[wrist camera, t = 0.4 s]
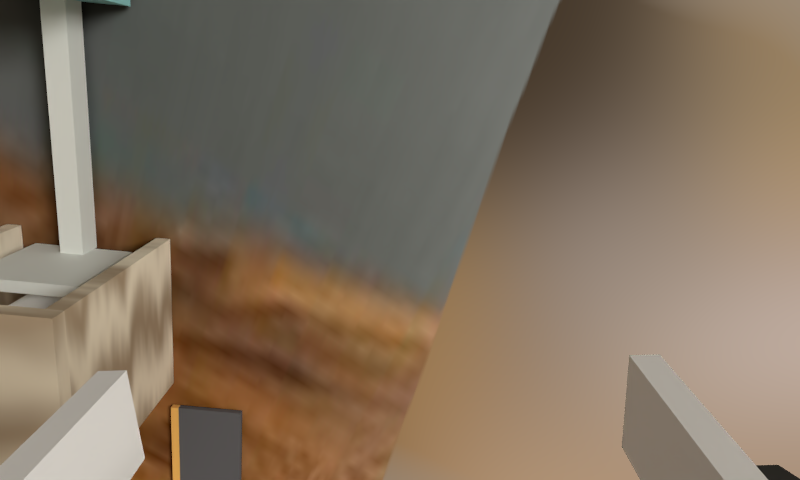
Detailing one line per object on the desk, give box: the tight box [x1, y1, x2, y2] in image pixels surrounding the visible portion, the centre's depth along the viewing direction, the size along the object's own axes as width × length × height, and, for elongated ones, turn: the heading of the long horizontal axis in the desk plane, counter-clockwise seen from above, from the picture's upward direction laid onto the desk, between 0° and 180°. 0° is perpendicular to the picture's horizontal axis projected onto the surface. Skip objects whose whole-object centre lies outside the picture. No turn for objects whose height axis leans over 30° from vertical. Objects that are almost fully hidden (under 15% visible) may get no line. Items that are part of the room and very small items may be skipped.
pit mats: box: [171, 405, 242, 480], centre depth 46 cm, size 8×23×1 cm, turn 85°
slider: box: [0, 0, 132, 297], centre depth 35 cm, size 19×8×9 cm, turn 175°
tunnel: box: [0, 224, 174, 465], centre depth 37 cm, size 12×12×14 cm
